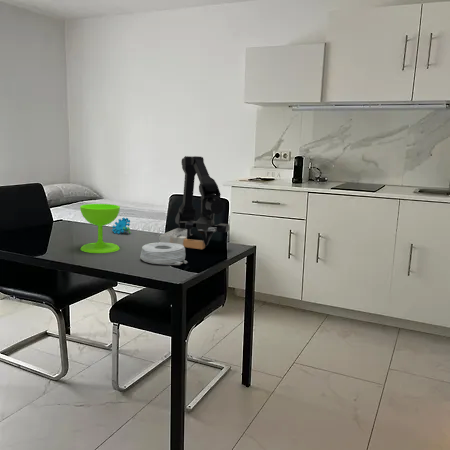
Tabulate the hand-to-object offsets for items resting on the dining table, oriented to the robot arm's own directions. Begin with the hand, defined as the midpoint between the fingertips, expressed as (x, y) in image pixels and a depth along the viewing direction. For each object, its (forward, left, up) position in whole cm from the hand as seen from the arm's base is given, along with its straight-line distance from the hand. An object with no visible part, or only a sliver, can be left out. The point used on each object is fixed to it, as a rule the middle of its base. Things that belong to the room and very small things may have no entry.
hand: (206, 245), depth 199 cm
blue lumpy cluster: (-12, -49, -2) cm, 50 cm away
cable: (+26, -9, -2) cm, 28 cm away
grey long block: (0, -16, -1) cm, 16 cm away
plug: (0, -8, -1) cm, 8 cm away
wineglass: (+21, -40, -2) cm, 45 cm away
